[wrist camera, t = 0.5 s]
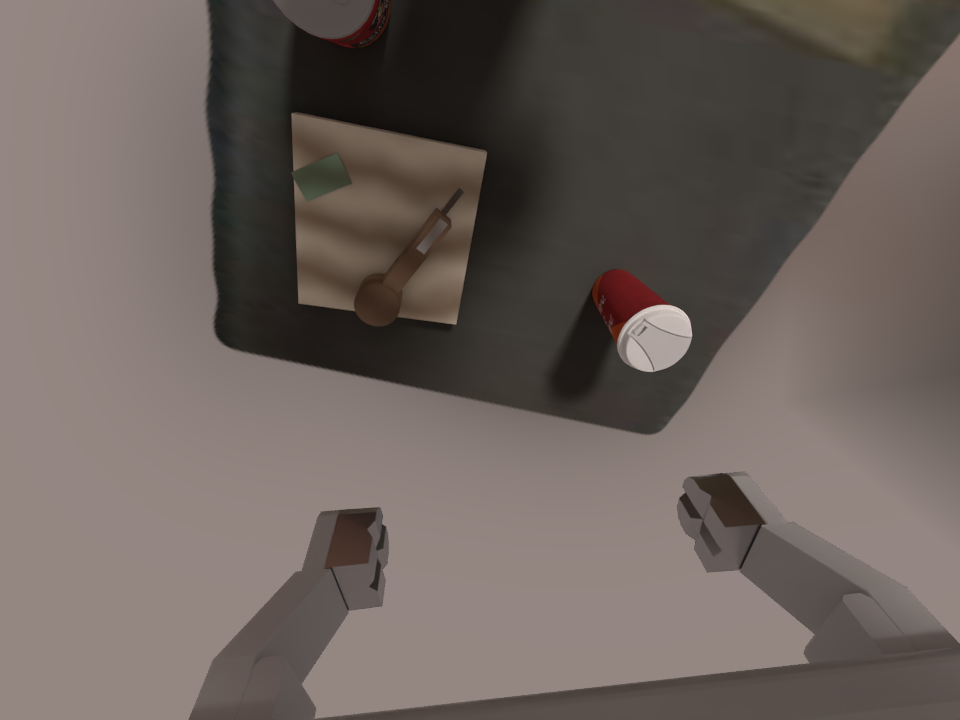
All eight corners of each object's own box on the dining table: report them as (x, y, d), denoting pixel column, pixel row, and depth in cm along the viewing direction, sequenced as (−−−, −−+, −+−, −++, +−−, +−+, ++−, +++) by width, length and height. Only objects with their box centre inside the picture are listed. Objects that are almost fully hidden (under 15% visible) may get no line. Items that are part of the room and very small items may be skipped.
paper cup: (571, 296, 55) (606, 353, 44) (614, 248, 52) (664, 296, 41) (612, 326, 58) (655, 387, 46) (655, 283, 55) (713, 337, 43)
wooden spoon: (386, 320, 52) (383, 334, 50) (350, 296, 50) (345, 309, 48) (461, 228, 47) (463, 238, 44) (425, 198, 45) (423, 205, 42)
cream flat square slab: (294, 111, 42) (287, 112, 40) (485, 150, 45) (487, 153, 43) (300, 296, 53) (295, 303, 51) (455, 317, 56) (456, 325, 54)
